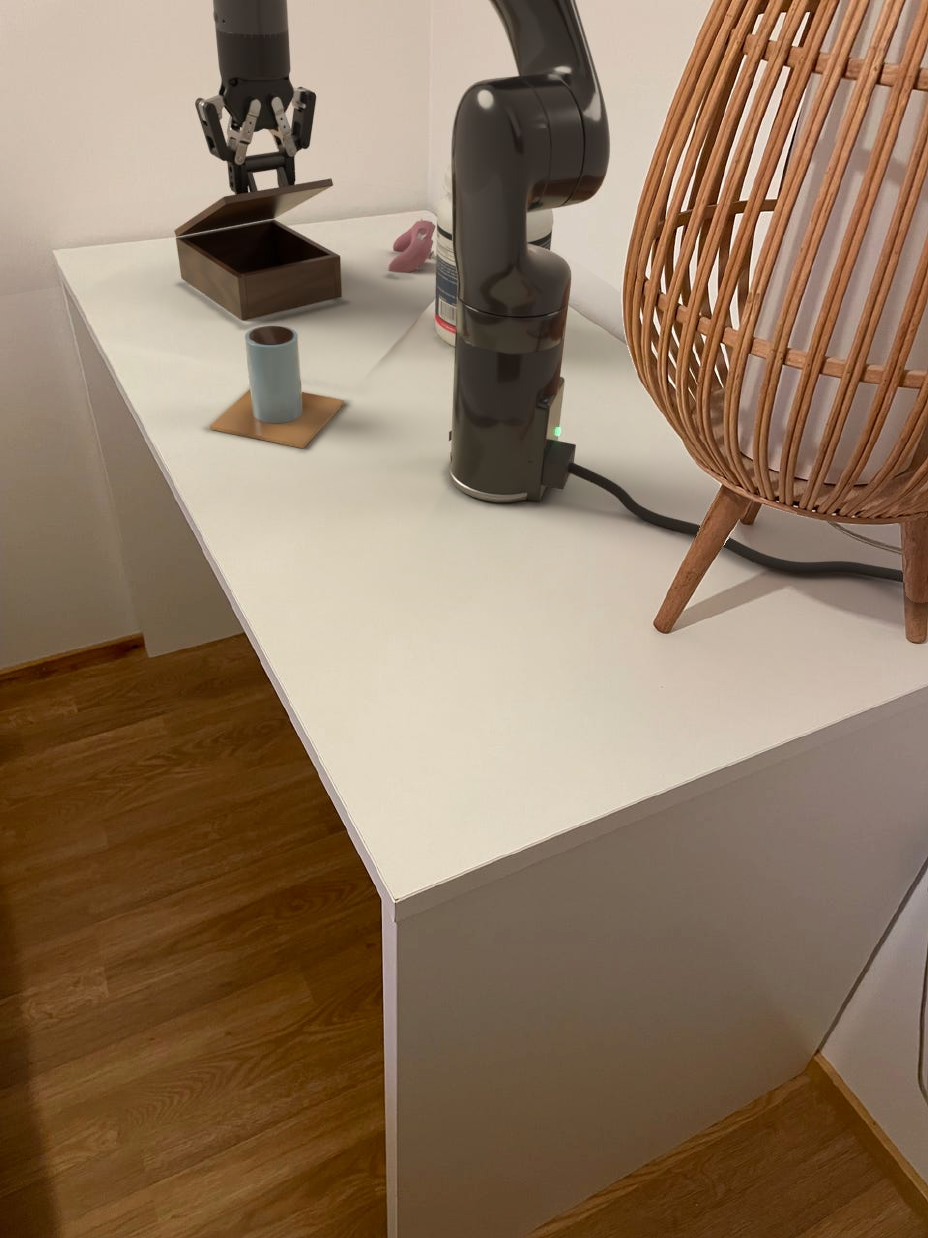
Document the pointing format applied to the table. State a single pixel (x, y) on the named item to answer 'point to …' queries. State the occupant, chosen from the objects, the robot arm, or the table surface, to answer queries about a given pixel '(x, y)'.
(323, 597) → the table surface
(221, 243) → the open wooden box
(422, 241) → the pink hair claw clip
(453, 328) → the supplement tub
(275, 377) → the cup
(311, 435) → the mat
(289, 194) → the lid
